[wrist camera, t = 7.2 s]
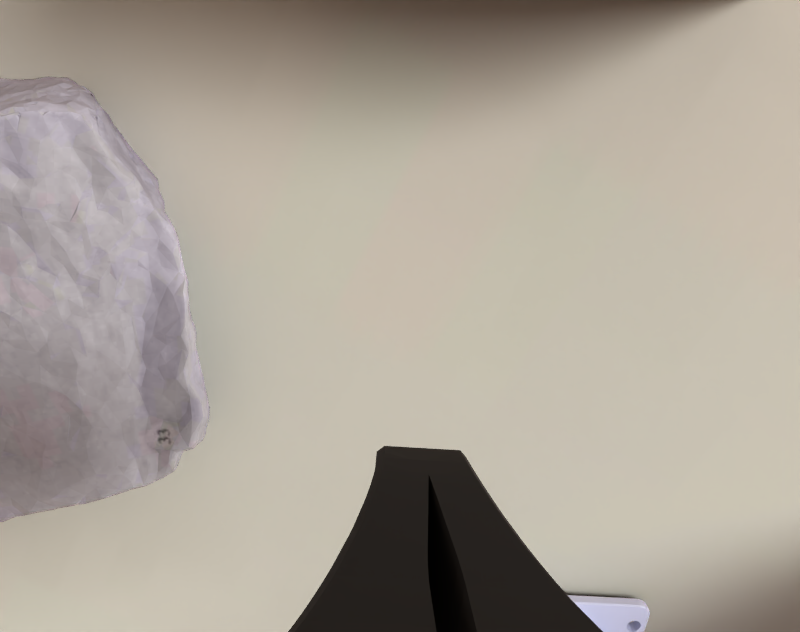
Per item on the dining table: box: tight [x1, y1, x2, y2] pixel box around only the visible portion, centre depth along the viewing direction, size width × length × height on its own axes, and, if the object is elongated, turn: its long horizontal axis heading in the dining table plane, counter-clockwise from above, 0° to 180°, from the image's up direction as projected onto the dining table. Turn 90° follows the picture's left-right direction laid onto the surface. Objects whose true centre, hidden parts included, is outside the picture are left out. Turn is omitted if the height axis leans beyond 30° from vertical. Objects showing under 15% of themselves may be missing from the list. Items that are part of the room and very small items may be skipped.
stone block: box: [0, 77, 210, 522], centre depth 20 cm, size 12×5×10 cm
